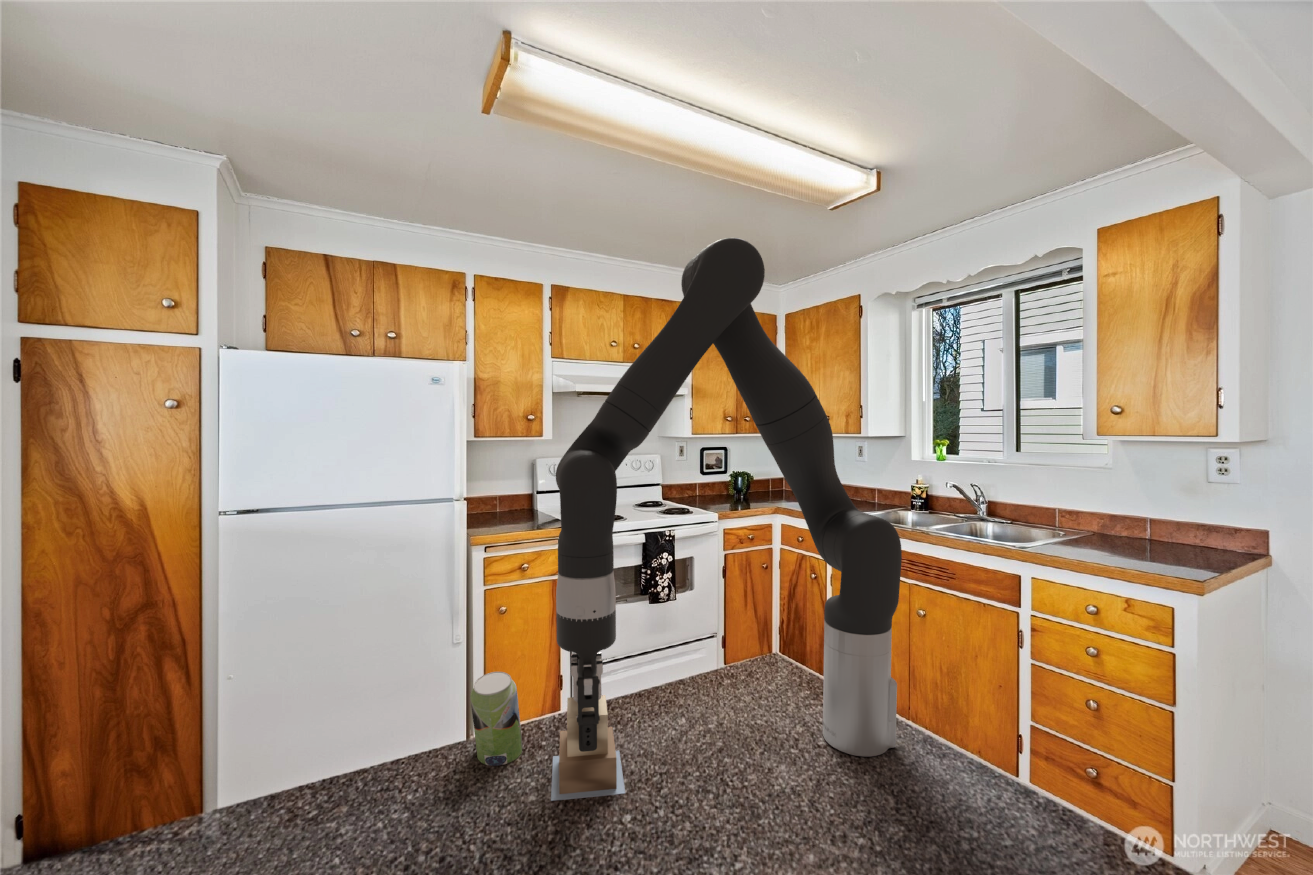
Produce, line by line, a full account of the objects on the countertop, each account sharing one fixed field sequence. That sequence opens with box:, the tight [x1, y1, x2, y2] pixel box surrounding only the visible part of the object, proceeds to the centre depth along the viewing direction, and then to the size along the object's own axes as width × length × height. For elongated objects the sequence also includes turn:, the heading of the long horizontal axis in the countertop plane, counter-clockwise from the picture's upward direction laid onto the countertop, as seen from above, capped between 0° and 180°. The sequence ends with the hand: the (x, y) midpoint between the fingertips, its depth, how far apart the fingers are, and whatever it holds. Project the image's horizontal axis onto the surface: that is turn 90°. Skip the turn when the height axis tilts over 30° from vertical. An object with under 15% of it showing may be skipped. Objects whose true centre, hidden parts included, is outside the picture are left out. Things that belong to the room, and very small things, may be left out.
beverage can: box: [469, 671, 524, 767], centre depth 79 cm, size 6×7×12 cm
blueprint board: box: [550, 749, 626, 802], centre depth 75 cm, size 16×12×1 cm
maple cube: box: [566, 694, 609, 757], centre depth 75 cm, size 5×5×5 cm
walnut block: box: [558, 726, 617, 794], centre depth 75 cm, size 7×7×4 cm
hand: (587, 733), depth 75 cm, fingers open, 6 cm apart
